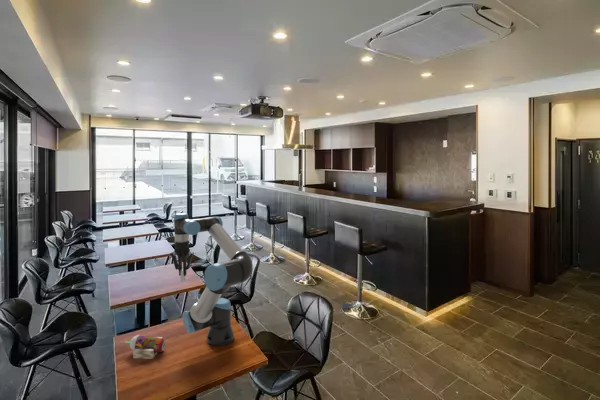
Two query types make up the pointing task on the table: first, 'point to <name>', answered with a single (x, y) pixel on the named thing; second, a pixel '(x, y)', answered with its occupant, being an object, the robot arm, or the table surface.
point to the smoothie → (147, 343)
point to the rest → (144, 353)
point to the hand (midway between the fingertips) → (182, 280)
